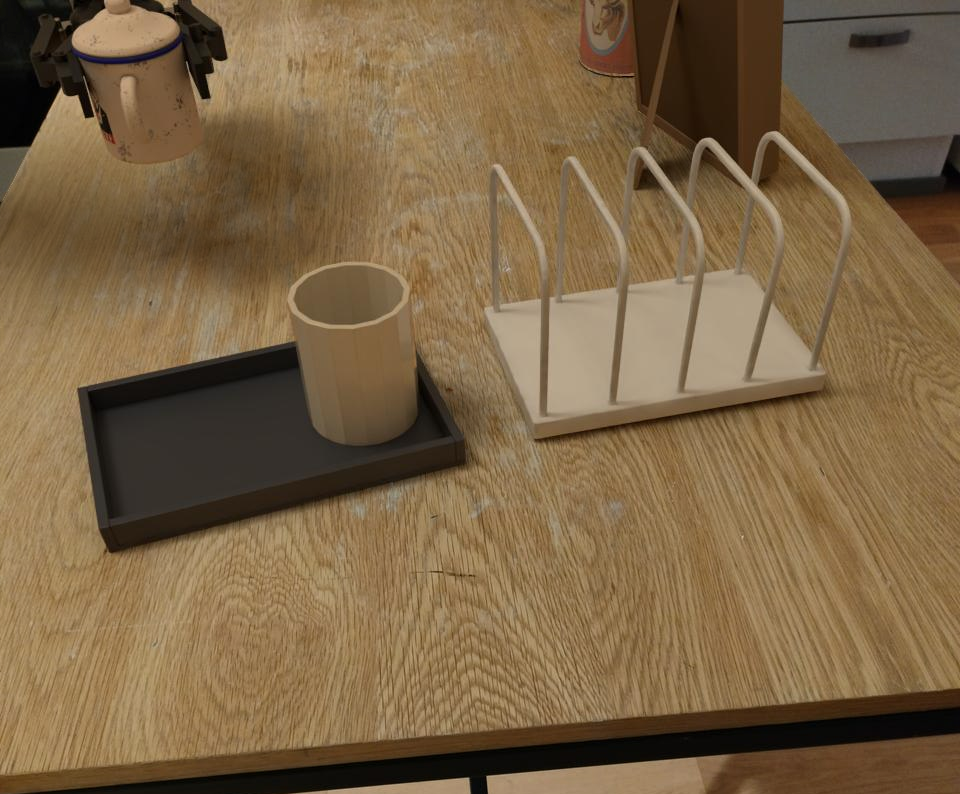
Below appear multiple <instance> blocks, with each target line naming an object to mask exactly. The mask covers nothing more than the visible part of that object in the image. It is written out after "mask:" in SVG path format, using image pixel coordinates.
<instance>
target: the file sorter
mask: <svg viewBox="0 0 960 794" xmlns="http://www.w3.org/2000/svg"><path fill="white" fill-rule="evenodd" d="M770 140H773V141H775V142H776V143H777V144H778V145H779V148H780V149H781V150H782V151H783V152H784V153H785V154H786V155H787V156H788V157H789V158H790V159H791V160H792V161H793V162H794V163H795V165H797V166H798V167H799V168H800V169H801V170H802V171H803V172H804V173H805V174H806V175H807V176H808V178H809V179H810V180H812V182H813V183H815V184H816V186H817V187H818V188H819V189H820V190H821V191H822V192H823V193H825V195H826V196H827V197H828V198H829V199H830V200H831V201H832V202H833V203H834V204H835V206H836V208H837V211H838V213H839V216H840V219H841V239H840V240H841V241H840V245H839V249H838V254H837V256H836V261H835V264H834V268H833V272H832V276H831V279H830V284H829V288H828V291H827V294H826V299H825V302H824V305H823V309H822V313H821V319H820V322H819V325H818V329H817V332H816V334H815V335H816V336H815V339H814V344H813V347H812V351H811V349H809V348H808V346H807V345H806V344H805V342H804V341H803V340H802V338H801V337H800V336H799V335H798V334H797V332H796V331H795V330H794V329H793V327H792V326H791V324H789V322H788V321H787V320H786V318H785V317H784V316H783V315H782V313H781V312H780V311H779V310H778V308H777V307H776V305H775V304H774V303H773V299H774V296H775V293H776V288H777V284H778V280H779V277H780V272H781V269H782V265H783V260H784V254H785V243H786V242H785V231H784V224H783V222H782V221H783V220H782V219H781V215H780V213H779V211H778V210H777V208H776V207H775V205H774V204H773V203H772V202H771V201H770V200H769V199H768V197H766V195H765V194H764V193H763V192H762V191H761V189H759V187H758V186H759V182H760V181H759V176H760V171H761V166H762V161H763V156H764V152H765V149H766V146H767V144H768V142H769V141H770ZM705 147H708V148H710V150H711V151H712V152H713V153H714V154H715V155H716V156H717V157H718V159H719V160H720V161H721V162H722V163H723V164H724V165H725V166H726V167H727V169H728V170H729V172H731V173H732V174H733V176H734V177H735V178H736V179H737V180H738V181H739V182H740V183H741V185H742V186H743V187H744V188H745V189H744V188H743V189H744V190H745V191H746V192H747V193H748V194H747V195H748V196H747V200H746V205H745V210H744V216H743V221H742V227H741V232H740V239H739V243H738V248H737V249H738V250H737V255H736V261H735V266H734V268H729V269H722V270H715V271H710V272H706V246H705V237H704V233H703V230H702V228H701V225H700V222H699V221H698V219H697V217H696V216H695V215H694V212H693V209H694V205H695V202H694V201H695V196H696V190H697V183H698V175H699V168H700V163H701V159H702V158H701V155H702V152H703V150H704V148H705ZM639 156H640V157H641V159H642V160H643V161H644V165H645V166H646V167H647V168H648V169H649V171H650V172H651V174H652V175H653V177H654V178H655V179H656V180H657V182H658V183H659V185H660V186H661V188H662V190H663V191H664V192H665V193H666V195H667V196H668V198H669V199H670V200H671V202H672V203H673V205H674V206H675V208H676V209H677V210H678V213H680V215H681V216H682V218H683V221H682V230H681V238H680V245H679V250H678V252H679V253H678V260H677V265H676V266H677V267H676V275H675V277H672V278H665V279H659V280H652V281H645V282H640V283H632V284H629V283H630V281H629V280H630V266H629V255H628V244H629V243H628V242H629V241H628V240H629V233H630V231H629V230H630V222H631V221H630V219H631V209H632V201H633V191H634V188H633V186H634V171H635V166H636V161H637V159H638V157H639ZM571 168H572V170H573V171H574V173H575V175H576V177H577V178H578V180H579V182H580V183H581V185H582V187H583V188H584V190H585V192H586V194H587V195H588V197H589V199H590V201H591V202H592V203H593V205H594V207H595V209H596V210H597V213H599V215H600V217H601V219H602V220H603V222H604V223H605V225H606V227H607V229H608V231H609V232H610V233H611V235H612V237H613V239H614V242H615V244H616V248H617V251H618V262H617V271H616V272H617V273H616V285H615V286H614V287H613V286H612V287H605V288H599V289H594V290H593V289H592V290H587V291H581V292H573V293H568V294H563V291H564V290H563V287H564V271H565V270H564V269H565V268H564V267H565V250H566V249H565V248H566V224H567V210H568V209H567V207H568V193H569V192H568V189H569V176H570V170H571ZM498 179H499V181H500V183H501V185H502V187H503V189H504V190H505V192H506V194H507V196H508V198H509V200H510V201H511V203H512V205H513V207H514V209H515V210H516V213H517V215H518V216H519V219H520V220H521V222H522V224H523V225H524V227H525V229H526V232H527V234H528V235H529V237H530V238H531V240H532V242H533V245H534V247H535V251H536V255H537V260H538V266H539V273H540V298H534V299H528V300H527V299H526V300H522V301H516V302H509V303H503V304H500V298H501V297H500V295H501V294H500V291H501V290H500V261H499V260H500V259H499V257H500V256H499V254H500V253H499V226H498ZM559 181H560V184H559V204H558V205H559V206H558V225H557V226H558V228H557V250H556V268H555V269H556V271H555V275H556V276H555V296H551V283H550V282H551V281H550V278H551V277H550V269H549V261H548V256H547V251H546V248H545V245H544V241H543V238H542V236H541V234H540V233H539V231H538V228H537V227H536V225H535V223H534V221H533V220H532V218H531V216H530V214H529V213H528V210H527V208H526V206H525V205H524V203H523V201H522V200H521V197H520V195H519V194H518V192H517V190H516V188H515V187H514V185H513V183H512V181H511V180H510V178H509V176H508V174H507V172H506V171H505V169H504V167H503V165H501V164H500V163H494V164H492V165H491V166H490V169H489V172H488V199H489V200H488V202H489V207H488V208H489V227H490V228H489V232H490V234H489V235H490V237H489V239H490V260H491V261H490V262H491V264H490V265H491V290H492V291H491V292H492V293H491V294H492V305H488V306H485V307H484V308H483V325H484V328H485V329H486V332H487V334H488V337H489V338H490V341H491V343H492V346H493V348H494V351H495V353H496V355H497V358H498V360H499V362H500V365H501V367H502V369H503V371H504V374H505V376H506V379H507V380H508V383H509V385H510V388H511V390H512V392H513V395H514V398H515V399H516V402H517V404H518V408H519V409H520V411H521V413H522V416H523V419H524V420H525V423H526V425H527V428H528V430H529V434H530V435H531V437H532V438H533V439H536V440H537V439H538V440H539V439H544V438H549V437H554V436H561V435H565V434H573V433H577V432H583V431H590V430H594V429H601V428H606V427H612V426H617V425H618V426H619V425H624V424H629V423H635V422H636V423H637V422H641V421H647V420H653V419H658V418H665V417H670V416H671V417H672V416H676V415H677V416H678V415H682V414H687V413H695V412H699V411H705V410H711V409H717V408H722V407H727V406H733V405H734V406H735V405H739V404H745V403H751V402H759V401H763V400H767V399H768V400H770V399H774V398H775V399H776V398H780V397H787V396H792V395H798V394H804V393H810V392H816V391H821V390H823V388H824V386H825V385H824V384H825V381H826V377H827V374H828V373H827V370H825V369H824V367H823V366H822V364H821V362H820V361H819V360H820V356H821V353H822V349H823V346H824V343H825V338H826V335H827V331H828V327H829V325H830V321H831V317H832V315H833V314H832V313H833V309H834V305H835V302H836V299H837V295H838V291H839V288H840V284H841V280H842V276H843V273H844V269H845V266H846V262H847V258H848V254H849V250H850V246H851V240H852V235H853V234H852V233H853V222H852V214H851V210H850V207H849V205H848V202H847V200H846V198H845V197H844V196H843V195H842V193H840V191H839V190H838V189H837V188H836V187H835V186H834V185H833V184H832V183H831V182H830V181H829V180H828V179H827V178H826V177H825V176H824V175H823V174H822V173H821V172H820V171H819V170H818V169H817V168H816V167H815V166H814V164H812V163H811V161H809V160H808V158H806V156H804V155H803V154H802V153H801V152H800V151H799V150H798V149H797V148H796V147H795V146H794V145H793V144H792V143H791V142H790V141H789V140H788V139H787V138H786V136H784V135H783V134H781V132H780V133H779V132H777V131H773V132H768V133H766V134H765V135H764V136H763V137H762V139H761V140H760V142H759V145H758V148H757V152H756V157H755V161H754V167H753V172H752V178H751V179H750V178H749V177H748V176H747V175H746V174H745V173H744V172H743V170H742V169H741V168H740V167H739V166H738V165H737V164H736V163H735V161H734V160H733V159H732V158H731V157H730V156H729V155H728V154H727V153H726V151H725V150H724V149H723V148H722V147H721V146H720V145H719V144H718V143H717V142H716V141H715V140H714V139H712V138H704V139H702V140H701V141H699V143H698V144H697V146H696V148H695V151H694V152H693V155H692V159H691V165H690V171H689V179H688V185H687V186H688V187H687V191H686V200H685V201H684V199H683V198H682V196H681V194H679V191H678V190H677V189H676V187H675V186H674V185H673V184H672V182H671V181H670V179H669V178H668V177H667V176H666V173H665V172H664V171H663V170H662V168H661V167H660V166H659V164H658V162H656V160H655V158H654V157H653V155H652V154H651V153H650V152H649V150H647V149H646V148H644V147H640V146H638V147H634V148H632V150H631V152H630V154H629V157H628V161H627V166H626V174H625V183H624V196H623V207H622V216H621V217H622V218H621V228H620V227H619V225H618V223H617V222H616V220H615V218H614V216H613V215H612V213H611V211H610V210H609V208H608V206H607V205H606V203H605V202H604V200H603V198H602V196H601V195H600V194H599V193H600V192H598V190H597V189H596V187H595V186H594V183H593V182H592V181H591V179H590V177H589V176H588V174H587V172H586V170H585V169H584V167H583V165H582V164H581V162H580V160H579V159H578V158H577V157H576V156H574V155H570V156H567V157H566V158H564V160H563V163H562V165H561V171H560V180H559ZM755 203H756V204H757V205H758V206H759V207H760V208H761V209H762V210H763V211H764V213H765V214H766V215H767V217H768V219H769V220H770V222H771V226H772V228H773V233H774V254H773V259H772V264H771V268H770V271H769V276H768V280H767V284H766V289H765V291H764V290H763V289H762V288H761V286H760V285H759V284H758V282H757V281H756V280H755V279H754V277H752V275H751V274H750V273H749V271H748V270H747V269H746V268H745V267H743V266H744V261H745V255H746V249H747V244H748V240H749V239H748V238H749V234H750V228H751V222H752V218H753V213H754V207H755ZM690 231H691V234H692V236H693V239H694V243H695V262H696V263H695V271H694V274H691V275H684V272H685V265H686V260H687V253H688V252H687V251H688V246H689V244H688V243H689V238H690Z"/></svg>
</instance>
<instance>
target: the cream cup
mask: <svg viewBox="0 0 960 794" xmlns="http://www.w3.org/2000/svg"><path fill="white" fill-rule="evenodd" d="M286 298H287V299H286V304H287V308H288V312H289V313H288V314H289V319H290V325H291V330H292V335H293V341H295V346H296V351H297V356H298V361H299V366H300V372H301V377H302V382H303V387H304V392H305V398H306V403H307V408H308V413H309V416H310V419H311V423H312V425H313V427H314V428H315V429H316V431H317V432H319V433H320V434H321V435H322V436H324V437H325V438H327V439H329V440H331V441H334V442H337V443H340V444H345V445H353V446H366V445H374V444H379V443H383V442H386V441H389V440H391V439H394V438H396V437H398V436H400V435H401V434H403V433H404V432H406V431H407V430H408V429H409V428H410V427H411V426H412V425H413V424H414V422H415V421H416V419H417V417H418V413H419V403H420V401H419V388H418V376H417V363H416V351H415V349H416V340H415V327H414V315H413V314H414V313H413V302H412V291H411V287H410V285H409V283H408V281H407V280H406V278H405V276H404V275H402V274H401V273H400V272H397V271H396V270H395V269H393V268H391V267H390V266H387V265H383V264H378V263H374V262H370V261H342V262H336V263H332V264H326V265H323V266H320V267H318V268H316V269H314V270H311V271H309V272H307V273H305V274H303V275H302V276H301V277H300V278H299V279H298V280H296V281H295V282H294V283H293V284H292V285H291V287H290V289H289V292H288V295H287V297H286Z"/></svg>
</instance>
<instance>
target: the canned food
mask: <svg viewBox="0 0 960 794" xmlns="http://www.w3.org/2000/svg"><path fill="white" fill-rule="evenodd" d="M580 21H581V23H580V38H579V39H580V40H579V41H580V42H579V54H580V56H579V55H578V58H579V57H580V60H581V62H582V63H583V64H584V65H586V66H587V67H589V68H591V69H595V70H597V71H602V72H606V73H617V74H630V73H634V68H633V57H632V47H631V36H630V25H629V14H628V3H627V0H582V3H581V20H580Z"/></svg>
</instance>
